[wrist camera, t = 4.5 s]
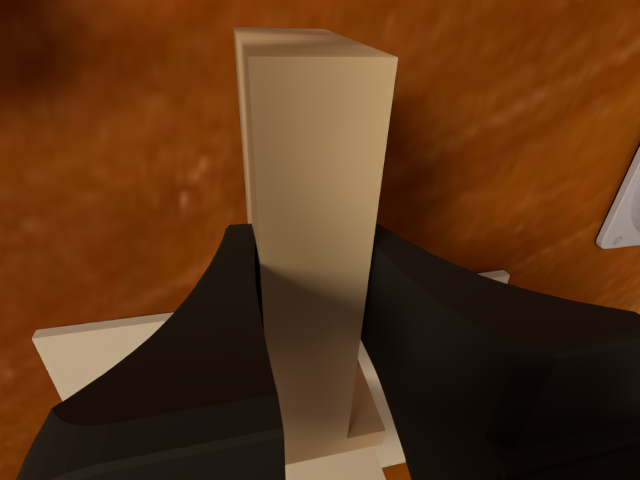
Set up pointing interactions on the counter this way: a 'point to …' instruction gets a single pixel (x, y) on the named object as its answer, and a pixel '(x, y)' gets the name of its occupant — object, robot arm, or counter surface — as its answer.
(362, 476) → the tile
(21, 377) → the counter surface
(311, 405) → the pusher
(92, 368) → the mat
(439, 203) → the counter surface
